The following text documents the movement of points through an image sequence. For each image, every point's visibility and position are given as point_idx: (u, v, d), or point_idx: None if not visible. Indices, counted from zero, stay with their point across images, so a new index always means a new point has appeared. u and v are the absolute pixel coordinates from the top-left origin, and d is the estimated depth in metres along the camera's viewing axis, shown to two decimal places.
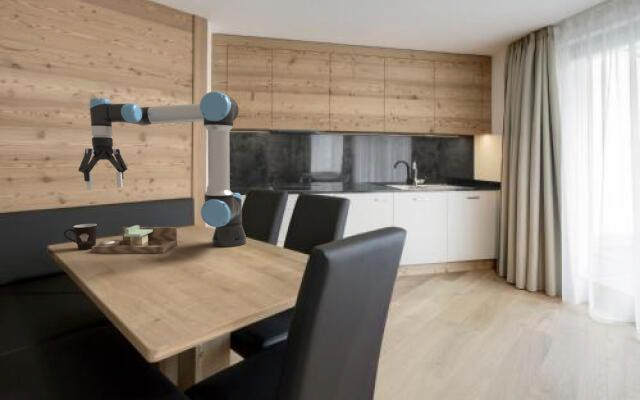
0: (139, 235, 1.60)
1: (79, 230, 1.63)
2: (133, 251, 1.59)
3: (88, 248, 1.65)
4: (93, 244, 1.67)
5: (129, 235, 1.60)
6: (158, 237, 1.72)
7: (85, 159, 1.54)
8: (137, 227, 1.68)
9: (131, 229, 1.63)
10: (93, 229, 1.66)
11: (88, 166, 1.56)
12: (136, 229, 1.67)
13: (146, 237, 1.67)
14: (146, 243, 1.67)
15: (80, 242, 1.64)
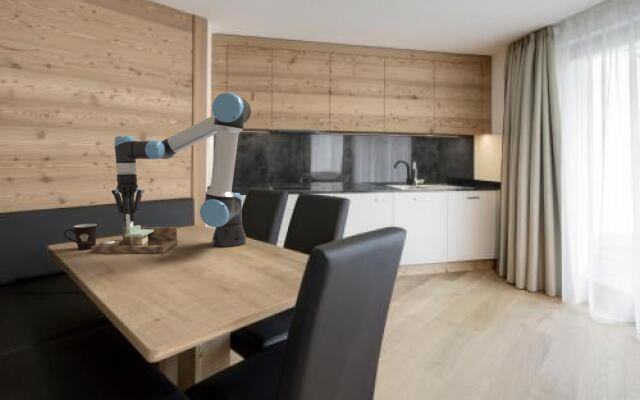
0: (140, 235, 1.60)
1: (79, 230, 1.63)
2: (133, 251, 1.59)
3: (88, 248, 1.65)
4: (93, 244, 1.67)
5: (130, 235, 1.60)
6: (158, 237, 1.72)
7: None
8: (138, 227, 1.68)
9: (132, 229, 1.63)
10: (93, 229, 1.66)
11: None
12: (137, 229, 1.67)
13: (146, 237, 1.67)
14: (146, 243, 1.67)
15: (80, 242, 1.64)
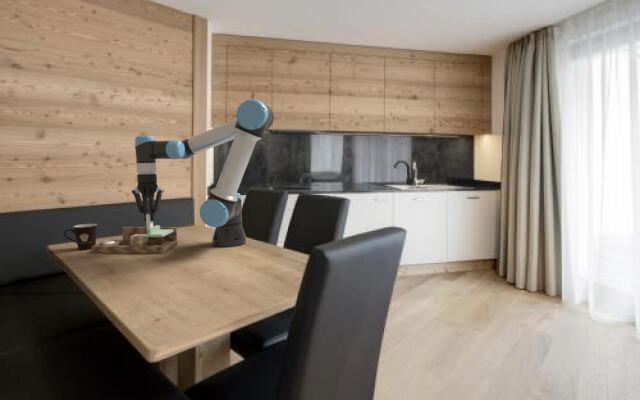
0: (161, 235, 1.60)
1: (79, 230, 1.63)
2: (133, 251, 1.59)
3: (88, 248, 1.65)
4: (93, 244, 1.67)
5: (151, 235, 1.60)
6: (158, 237, 1.72)
7: None
8: (158, 227, 1.68)
9: (152, 229, 1.63)
10: (93, 229, 1.66)
11: None
12: (157, 229, 1.67)
13: (146, 237, 1.67)
14: (146, 243, 1.67)
15: (80, 242, 1.64)
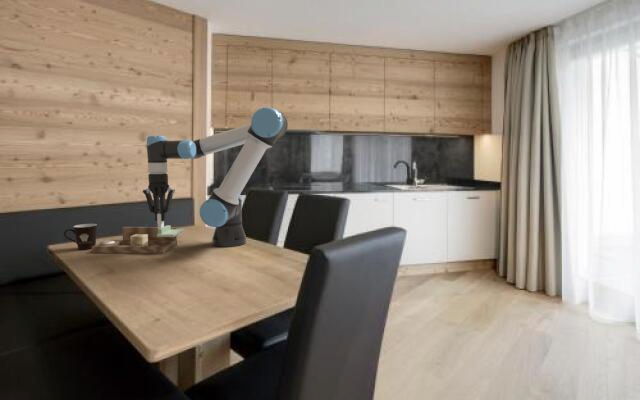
0: (172, 235, 1.59)
1: (79, 230, 1.63)
2: (133, 251, 1.59)
3: (88, 248, 1.65)
4: (93, 244, 1.67)
5: (162, 235, 1.60)
6: (158, 237, 1.72)
7: None
8: (169, 227, 1.68)
9: (163, 229, 1.63)
10: (93, 229, 1.66)
11: None
12: (168, 229, 1.67)
13: (146, 237, 1.67)
14: (146, 243, 1.67)
15: (80, 242, 1.64)
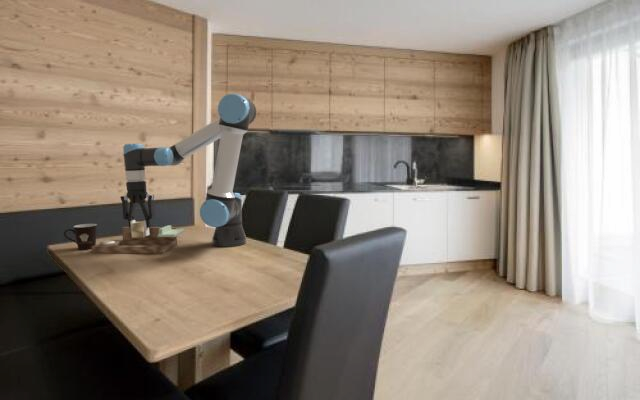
0: (173, 235, 1.59)
1: (79, 230, 1.63)
2: (133, 251, 1.59)
3: (88, 248, 1.65)
4: (93, 244, 1.67)
5: (163, 235, 1.60)
6: (158, 237, 1.72)
7: None
8: (169, 227, 1.68)
9: (164, 229, 1.63)
10: (93, 229, 1.66)
11: None
12: (168, 229, 1.67)
13: None
14: None
15: (80, 242, 1.64)
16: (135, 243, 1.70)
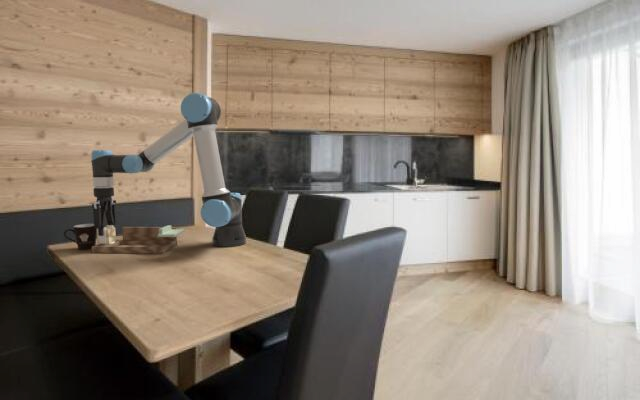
0: (173, 235, 1.59)
1: (79, 230, 1.63)
2: (133, 251, 1.59)
3: (88, 248, 1.65)
4: (93, 244, 1.67)
5: (163, 235, 1.60)
6: (158, 237, 1.72)
7: (97, 215, 1.58)
8: (169, 227, 1.68)
9: (164, 229, 1.63)
10: (93, 229, 1.66)
11: None
12: (168, 229, 1.67)
13: None
14: None
15: (80, 242, 1.64)
16: (135, 243, 1.70)
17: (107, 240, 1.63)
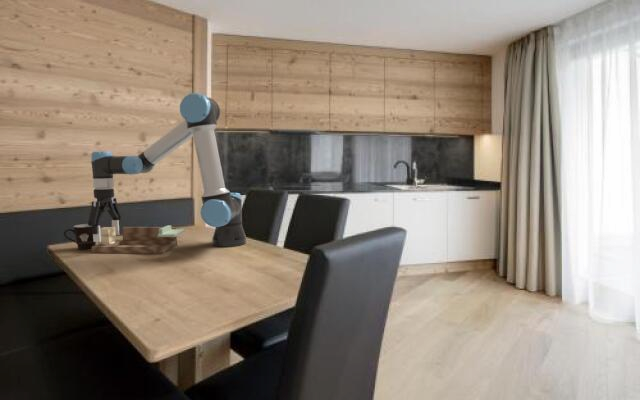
0: (173, 235, 1.59)
1: (79, 230, 1.63)
2: (133, 251, 1.59)
3: (88, 248, 1.65)
4: (93, 244, 1.67)
5: (163, 235, 1.60)
6: (158, 237, 1.72)
7: (94, 212, 1.56)
8: (169, 227, 1.68)
9: (164, 229, 1.63)
10: None
11: None
12: (168, 229, 1.67)
13: None
14: None
15: (80, 242, 1.64)
16: (135, 243, 1.70)
17: (107, 240, 1.63)
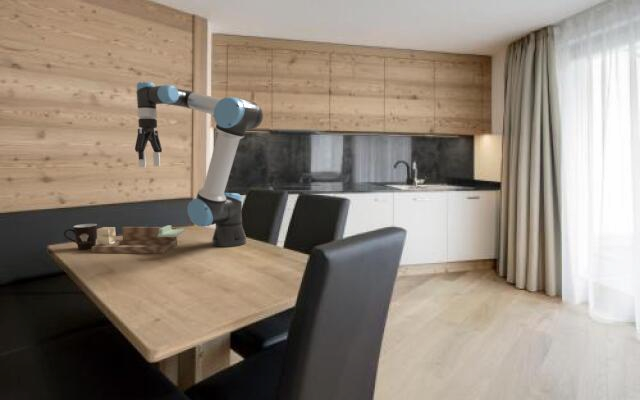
0: (173, 235, 1.59)
1: (79, 230, 1.63)
2: (133, 251, 1.59)
3: (88, 248, 1.65)
4: (93, 244, 1.67)
5: (163, 235, 1.60)
6: (158, 237, 1.72)
7: (140, 138, 1.65)
8: (169, 227, 1.68)
9: (164, 229, 1.63)
10: (93, 229, 1.66)
11: None
12: (168, 229, 1.67)
13: None
14: None
15: (80, 242, 1.64)
16: (135, 243, 1.70)
17: (107, 240, 1.63)
